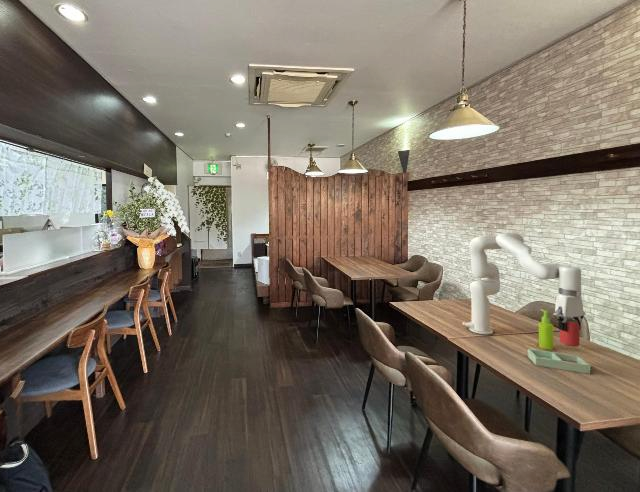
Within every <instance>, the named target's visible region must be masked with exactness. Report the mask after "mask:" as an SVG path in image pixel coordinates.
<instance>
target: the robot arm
mask: <svg viewBox="0 0 640 492" xmlns="http://www.w3.org/2000/svg"><path fill="white" fill-rule="evenodd" d="M468 247H469V249H468V250H469V253H470V270H471V275H472V276H473V277H474V278H476V279H477V280H474V281H472V282H471V283H470V284H469V293H470V300H471V301H470V304H471V305H470V306H471V307H470V309H471V310H470V311H471V312H470V313H471V316H470V317H471V318H470V319H471V320H469V321H468V322H466V321H462V326H465V327H468V330H469V331H470V332H473V333H475V334H479V335H485V336H486V335H487V336H489V335H493V334H494V330H493V329H492V328H491V303H490V300H489V298H488V296H494V295H497V294H498V293H499V292H500V289H501V280H500V279H501V278H500V270H499V268H498V266H497V264H495V263H494V262H489V261H488V255H487V253H486V251H487V250H501V249H502V250H504V251H506V252H507V253H508V254H509V255H512V256H513V257H514V258H516V259H517V261H518V263H519V265H520V266H521V267H522V269H523V270H524V271H526V272H527V273H528V274H530V275H531V276H533V277H535V278H537V279H539V280H541V281H544V280H556V279H558V294H557V295H556V298H555V304H554V305H555V306H554V313H553V316H554V317H555V319H556V320H557V322H558V330H559V331H560V330H563V331H567V323H565V322H566V320H567V318H573V319H576V320H578V323H579V326H580V331H581V329H582V322H583V319H584V317H585V316H586V312H585V310H584V303H583V297H582V269H581V268H580V267H577V266H572V265H563V264H559V263H554V262H553V263H542V262H540V261H538V260H537V259H536V258H534V257H533V256H532V255H531V254H532V252H533V249H532V247H531V246H529V245H528V244H526V243H525V239H524V236H522V235H521V234H520V233H518V232H503V233H499V234H495V235H494V234H493V235H479V236H476V237H473V238H472V239H471V240H470V242H469V246H468ZM562 317H564V318H563V319H562Z"/></svg>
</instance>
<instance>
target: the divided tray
mask: <svg viewBox="0 0 640 492" xmlns="http://www.w3.org/2000/svg"><path fill="white" fill-rule="evenodd" d="M527 357H528V358H529V360H531V361H532V362H533V364H534V365H535V366H538V367H545V368H551V369H556V370H557V369H558V370H564V371H570V372H576V373H583V374H589V375H590V374H591V364H589V363H588V362H587V361H586V360H584V359H583V358H581V356H579V355H577V354H569V353H561V352H557V351H556V352H555V351H550V350H541V349H535V348H534V349H533V348H527Z"/></svg>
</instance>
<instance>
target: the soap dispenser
mask: <svg viewBox="0 0 640 492" xmlns="http://www.w3.org/2000/svg"><path fill="white" fill-rule="evenodd" d="M539 310H540V311H542V312H543V315H542V316H541V321H538V347H539V348H541V349H542V350H543V349H544V350H546V351H553V350H554V324H553V323H552V322H551V317H550V316H549V314H550V313H551V312H550V311H549V310H547V309H539Z"/></svg>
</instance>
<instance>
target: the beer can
mask: <svg viewBox="0 0 640 492" xmlns="http://www.w3.org/2000/svg"><path fill="white" fill-rule="evenodd" d="M563 318H564V317H562V319H563ZM565 323H567V331H563V330H560V329H559V342H560V343H561V344H562V345H564V346H568V347H572V348H578V347H579V346H580V339H581V337H580V335H581V333H580V332H581V330H580V326H579V323H578V320H576V319H573V317H568V318H567V320H566V322H565Z"/></svg>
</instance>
